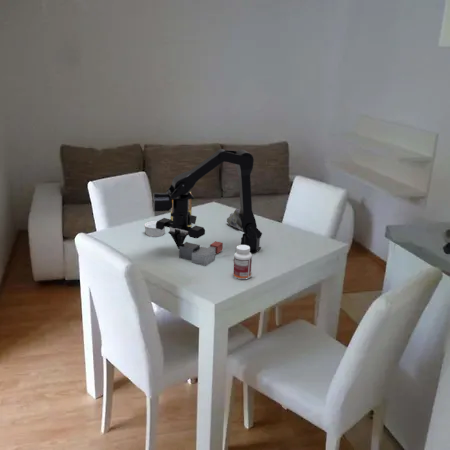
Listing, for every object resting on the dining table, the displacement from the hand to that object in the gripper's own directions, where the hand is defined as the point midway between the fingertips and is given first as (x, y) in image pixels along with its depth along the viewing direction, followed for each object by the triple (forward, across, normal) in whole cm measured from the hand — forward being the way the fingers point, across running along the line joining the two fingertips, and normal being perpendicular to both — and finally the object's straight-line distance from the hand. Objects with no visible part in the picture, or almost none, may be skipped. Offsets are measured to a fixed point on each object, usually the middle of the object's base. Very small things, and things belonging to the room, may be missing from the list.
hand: (179, 248), depth 189 cm
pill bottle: (+2, -29, +4) cm, 29 cm away
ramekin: (+3, +21, -14) cm, 26 cm away
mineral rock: (+3, -6, -41) cm, 42 cm away
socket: (+2, -4, 0) cm, 5 cm away
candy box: (+3, +18, -28) cm, 33 cm away
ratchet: (+2, -8, -4) cm, 9 cm away
